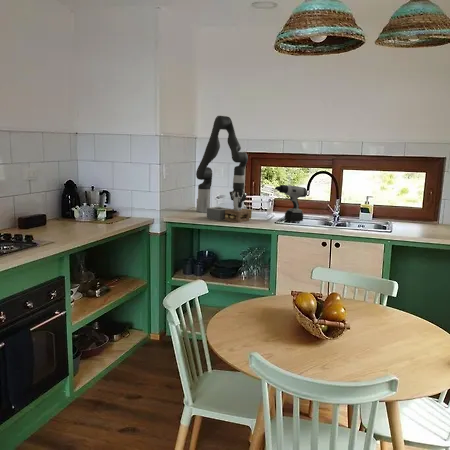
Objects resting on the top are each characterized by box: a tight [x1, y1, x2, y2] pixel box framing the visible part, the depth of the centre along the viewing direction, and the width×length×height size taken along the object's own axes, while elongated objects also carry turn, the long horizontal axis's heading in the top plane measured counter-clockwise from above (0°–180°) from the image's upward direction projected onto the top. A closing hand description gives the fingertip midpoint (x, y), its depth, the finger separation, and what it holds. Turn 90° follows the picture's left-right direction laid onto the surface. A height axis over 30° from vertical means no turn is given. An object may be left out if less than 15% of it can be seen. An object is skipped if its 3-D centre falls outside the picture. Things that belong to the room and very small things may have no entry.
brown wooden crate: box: [225, 207, 253, 220], centre depth 328 cm, size 19×8×6 cm, turn 139°
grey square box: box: [206, 206, 230, 221], centre depth 332 cm, size 12×12×7 cm
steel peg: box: [233, 197, 242, 218], centre depth 326 cm, size 4×4×15 cm
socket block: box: [224, 208, 250, 223], centre depth 327 cm, size 12×12×7 cm
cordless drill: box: [274, 184, 308, 222], centre depth 336 cm, size 8×24×25 cm, turn 115°
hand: (237, 207), depth 326 cm, fingers closed on steel peg, 3 cm apart
